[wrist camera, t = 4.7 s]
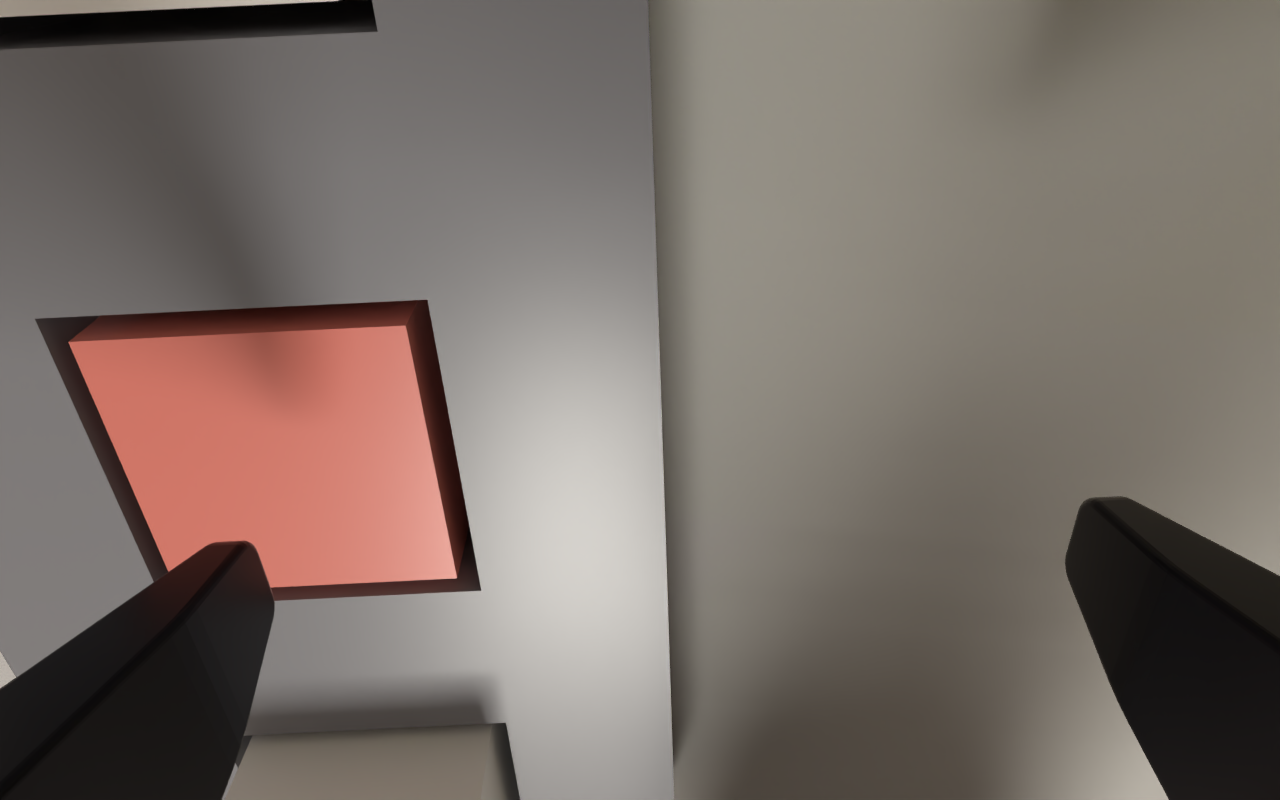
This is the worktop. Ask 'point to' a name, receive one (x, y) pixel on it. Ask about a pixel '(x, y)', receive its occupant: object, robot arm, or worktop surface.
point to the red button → (286, 436)
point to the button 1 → (118, 5)
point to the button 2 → (380, 765)
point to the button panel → (359, 273)
